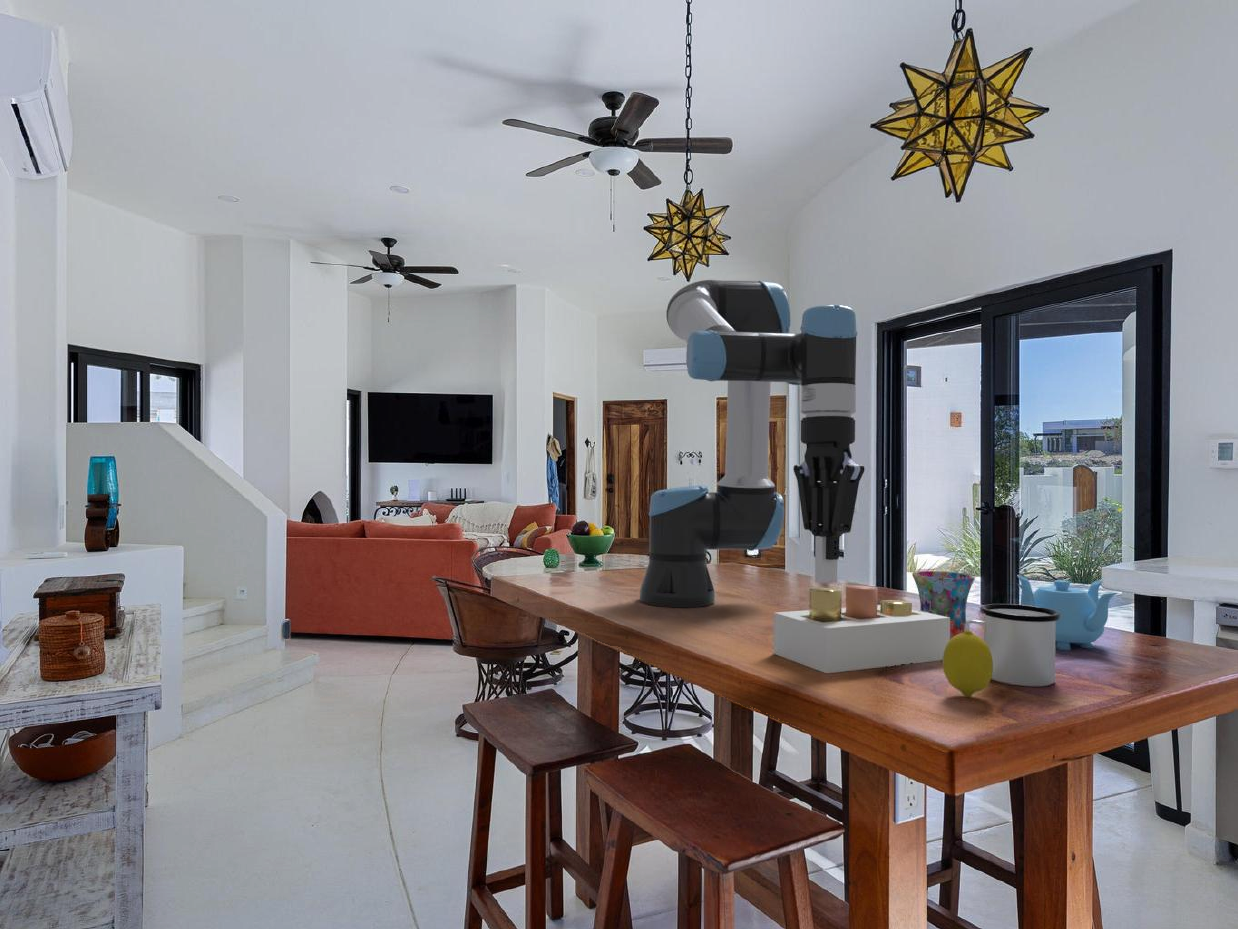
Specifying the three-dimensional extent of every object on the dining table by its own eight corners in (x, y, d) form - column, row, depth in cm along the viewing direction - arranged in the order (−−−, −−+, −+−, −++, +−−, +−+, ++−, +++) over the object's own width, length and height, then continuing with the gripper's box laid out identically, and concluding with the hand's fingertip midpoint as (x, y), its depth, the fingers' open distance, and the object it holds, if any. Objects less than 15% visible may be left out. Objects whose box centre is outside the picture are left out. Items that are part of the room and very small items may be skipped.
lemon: (951, 687, 99) (952, 624, 99) (998, 696, 95) (999, 630, 95) (935, 697, 95) (936, 630, 95) (984, 706, 91) (985, 637, 91)
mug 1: (954, 650, 120) (955, 580, 120) (899, 639, 127) (900, 573, 127) (994, 640, 127) (995, 574, 127) (940, 631, 135) (941, 568, 135)
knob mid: (839, 620, 116) (839, 586, 116) (862, 618, 118) (863, 584, 118) (859, 625, 112) (860, 590, 112) (883, 623, 114) (884, 589, 114)
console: (773, 653, 116) (774, 612, 116) (889, 642, 125) (890, 604, 125) (826, 673, 105) (826, 628, 105) (949, 659, 114) (950, 617, 114)
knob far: (873, 634, 119) (874, 600, 119) (896, 632, 121) (896, 599, 121) (894, 640, 115) (895, 605, 115) (917, 637, 117) (918, 603, 117)
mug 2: (1072, 680, 103) (1073, 611, 103) (1040, 693, 97) (1041, 619, 97) (981, 662, 113) (982, 598, 113) (947, 672, 107) (948, 605, 107)
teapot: (1016, 633, 134) (1016, 573, 134) (1107, 641, 128) (1107, 578, 128) (1017, 648, 122) (1017, 582, 123) (1117, 657, 117) (1118, 589, 117)
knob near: (802, 623, 114) (803, 588, 114) (827, 621, 115) (828, 586, 116) (822, 629, 110) (822, 593, 110) (847, 627, 111) (848, 591, 111)
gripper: (778, 417, 117) (777, 577, 117) (836, 412, 105) (834, 589, 105) (820, 419, 120) (818, 575, 120) (880, 414, 108) (879, 587, 108)
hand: (826, 582), depth 112 cm, fingers closed
